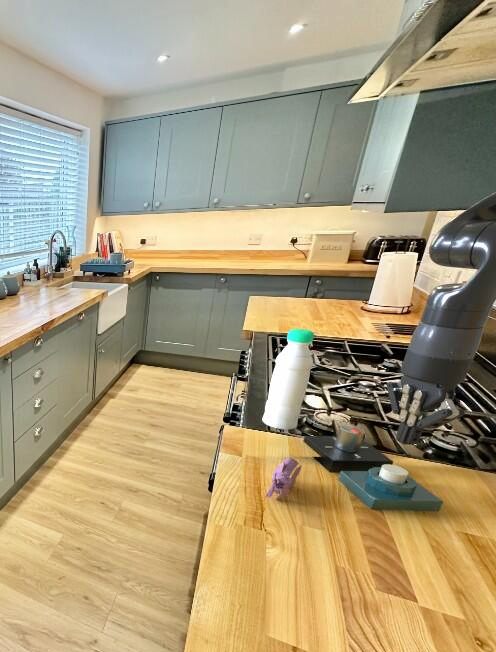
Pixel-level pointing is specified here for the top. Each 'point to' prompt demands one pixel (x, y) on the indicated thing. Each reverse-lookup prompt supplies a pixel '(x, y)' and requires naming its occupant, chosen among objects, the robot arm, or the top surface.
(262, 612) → the top surface
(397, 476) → the white push button
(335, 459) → the lock base
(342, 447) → the lock knob
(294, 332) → the white milk bottle
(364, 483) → the button base
